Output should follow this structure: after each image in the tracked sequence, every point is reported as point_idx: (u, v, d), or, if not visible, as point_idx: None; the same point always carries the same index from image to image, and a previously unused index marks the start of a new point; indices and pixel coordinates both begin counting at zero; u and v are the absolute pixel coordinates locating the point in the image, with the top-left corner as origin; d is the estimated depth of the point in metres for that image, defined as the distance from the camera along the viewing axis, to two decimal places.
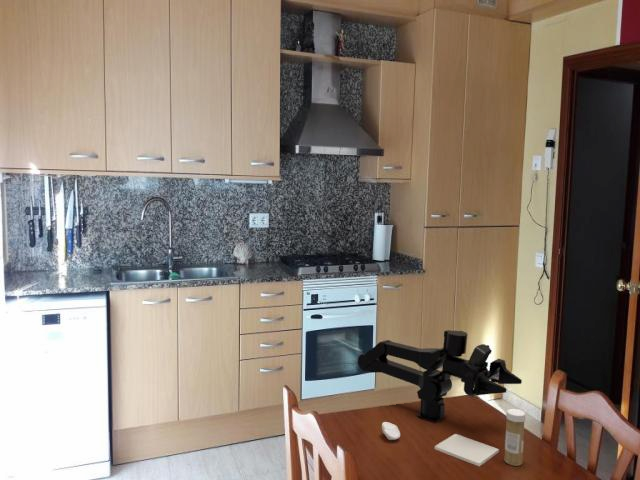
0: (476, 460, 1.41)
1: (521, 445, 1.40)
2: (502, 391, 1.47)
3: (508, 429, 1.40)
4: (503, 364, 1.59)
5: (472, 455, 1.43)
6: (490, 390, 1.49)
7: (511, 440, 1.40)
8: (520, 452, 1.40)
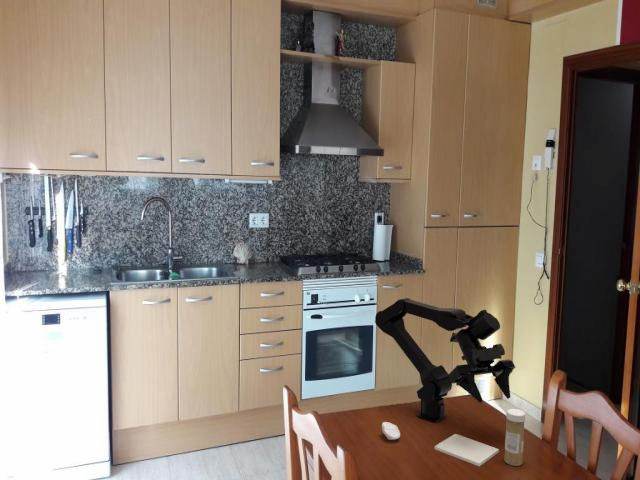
0: (476, 460, 1.41)
1: (521, 445, 1.40)
2: (478, 400, 1.47)
3: (508, 429, 1.40)
4: (508, 371, 1.52)
5: (472, 455, 1.43)
6: (470, 390, 1.49)
7: (511, 440, 1.40)
8: (520, 452, 1.40)
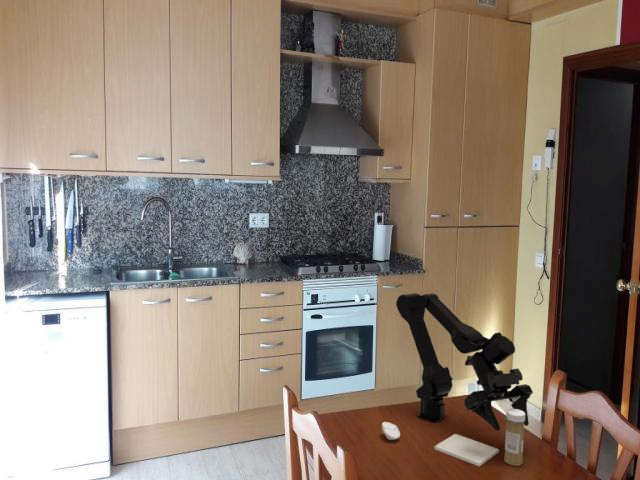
0: (476, 460, 1.41)
1: (521, 445, 1.40)
2: (495, 428, 1.41)
3: (508, 429, 1.40)
4: (526, 396, 1.46)
5: (472, 455, 1.43)
6: (486, 418, 1.43)
7: (511, 440, 1.40)
8: (520, 452, 1.40)
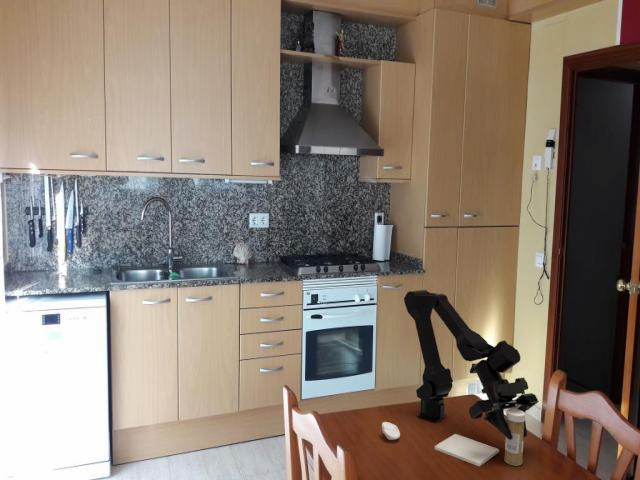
0: (476, 460, 1.41)
1: (521, 445, 1.40)
2: (507, 436, 1.40)
3: None
4: (525, 407, 1.43)
5: (472, 455, 1.43)
6: (498, 426, 1.42)
7: (511, 440, 1.40)
8: (520, 452, 1.40)
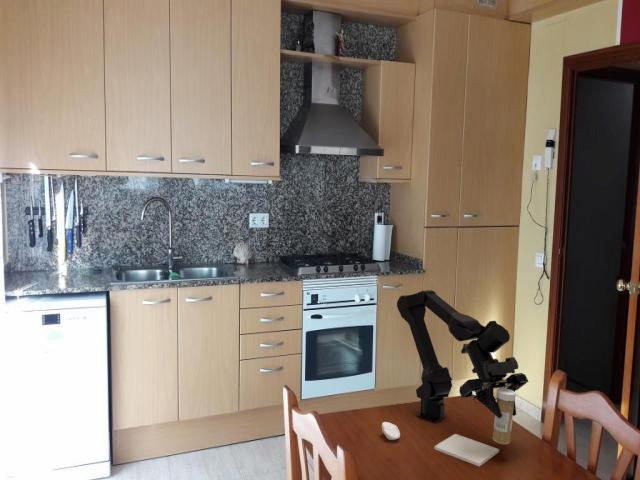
0: (476, 460, 1.41)
1: (510, 424, 1.41)
2: (497, 415, 1.41)
3: None
4: (514, 386, 1.44)
5: (472, 455, 1.43)
6: (488, 405, 1.43)
7: (500, 419, 1.41)
8: (509, 431, 1.41)
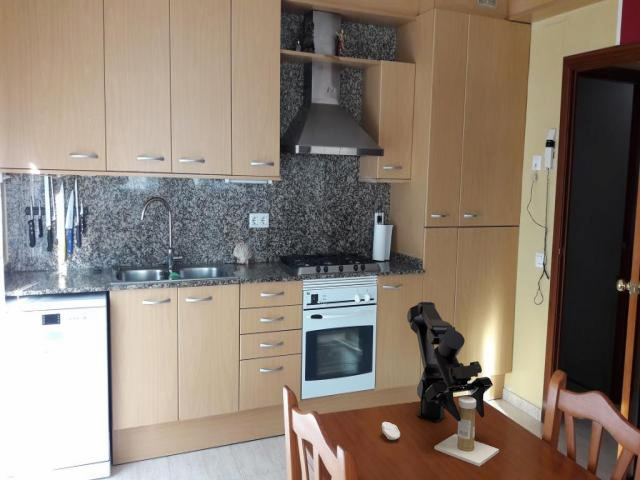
0: (476, 460, 1.41)
1: (472, 431, 1.45)
2: (456, 418, 1.45)
3: (460, 416, 1.46)
4: (483, 389, 1.49)
5: (472, 455, 1.43)
6: (448, 409, 1.46)
7: (462, 426, 1.45)
8: (471, 438, 1.45)
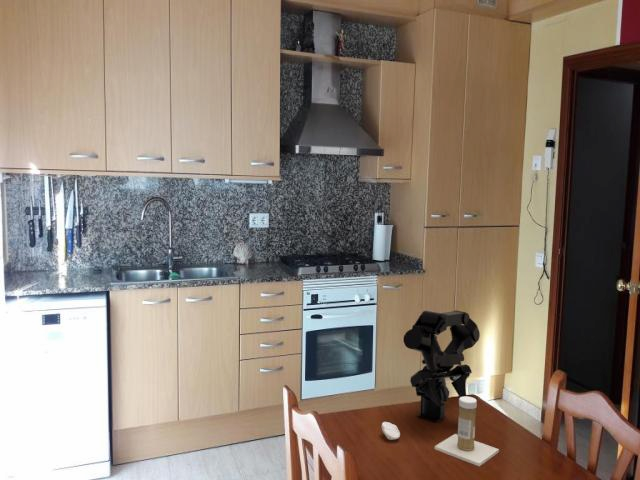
0: (476, 460, 1.41)
1: (473, 431, 1.45)
2: (437, 404, 1.53)
3: (460, 416, 1.46)
4: (466, 376, 1.59)
5: (472, 455, 1.43)
6: (429, 395, 1.54)
7: (463, 426, 1.45)
8: (472, 438, 1.45)
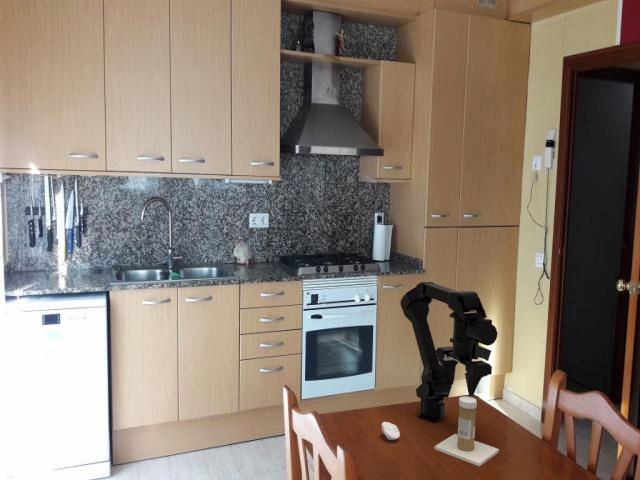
0: (476, 460, 1.41)
1: (473, 431, 1.45)
2: (471, 393, 1.51)
3: (460, 416, 1.46)
4: None
5: (472, 455, 1.43)
6: (471, 384, 1.50)
7: (463, 426, 1.45)
8: (472, 438, 1.45)
